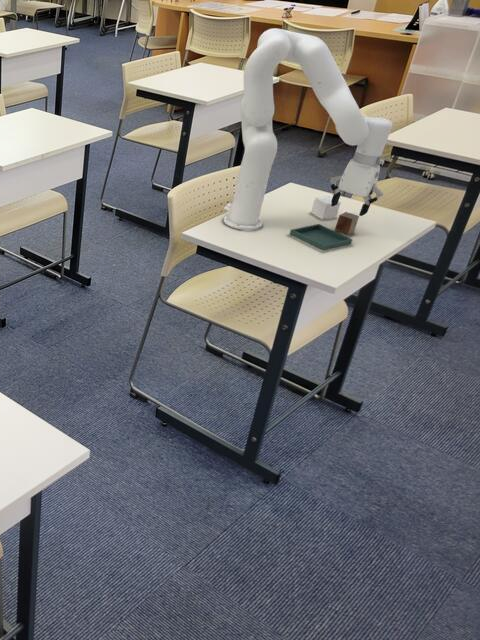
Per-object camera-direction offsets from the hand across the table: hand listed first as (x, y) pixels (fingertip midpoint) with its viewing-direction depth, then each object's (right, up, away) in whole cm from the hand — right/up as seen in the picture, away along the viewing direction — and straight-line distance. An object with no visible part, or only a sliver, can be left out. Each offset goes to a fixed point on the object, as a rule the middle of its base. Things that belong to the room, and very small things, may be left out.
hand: (347, 210), depth 229 cm
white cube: (0, +1, +17) cm, 17 cm away
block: (+1, -7, +4) cm, 8 cm away
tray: (-10, -10, -1) cm, 14 cm away
